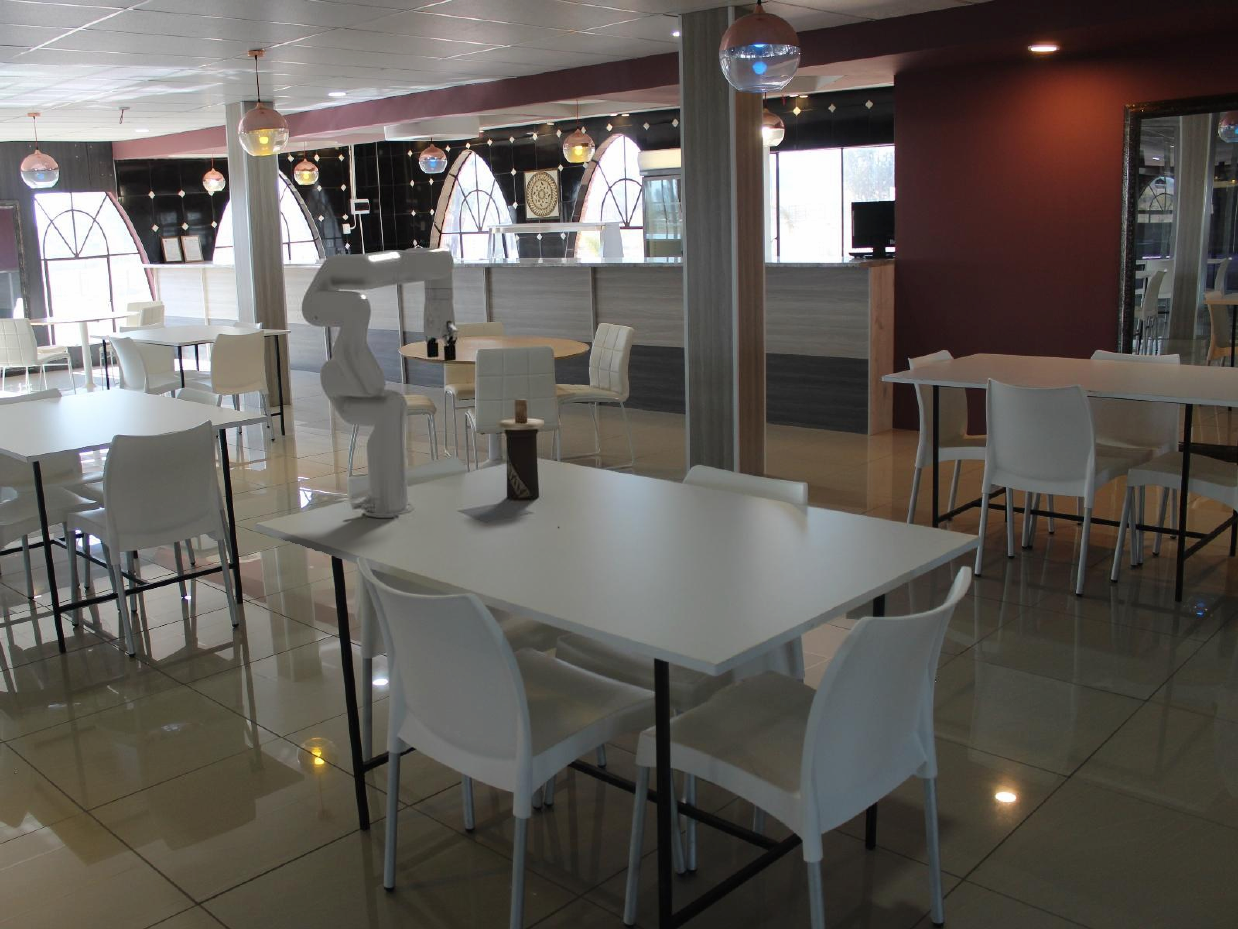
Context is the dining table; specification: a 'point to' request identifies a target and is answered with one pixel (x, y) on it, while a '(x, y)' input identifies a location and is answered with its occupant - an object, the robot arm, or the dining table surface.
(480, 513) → the mat
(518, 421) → the lid
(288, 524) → the dining table surface
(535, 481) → the container
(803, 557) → the dining table surface
